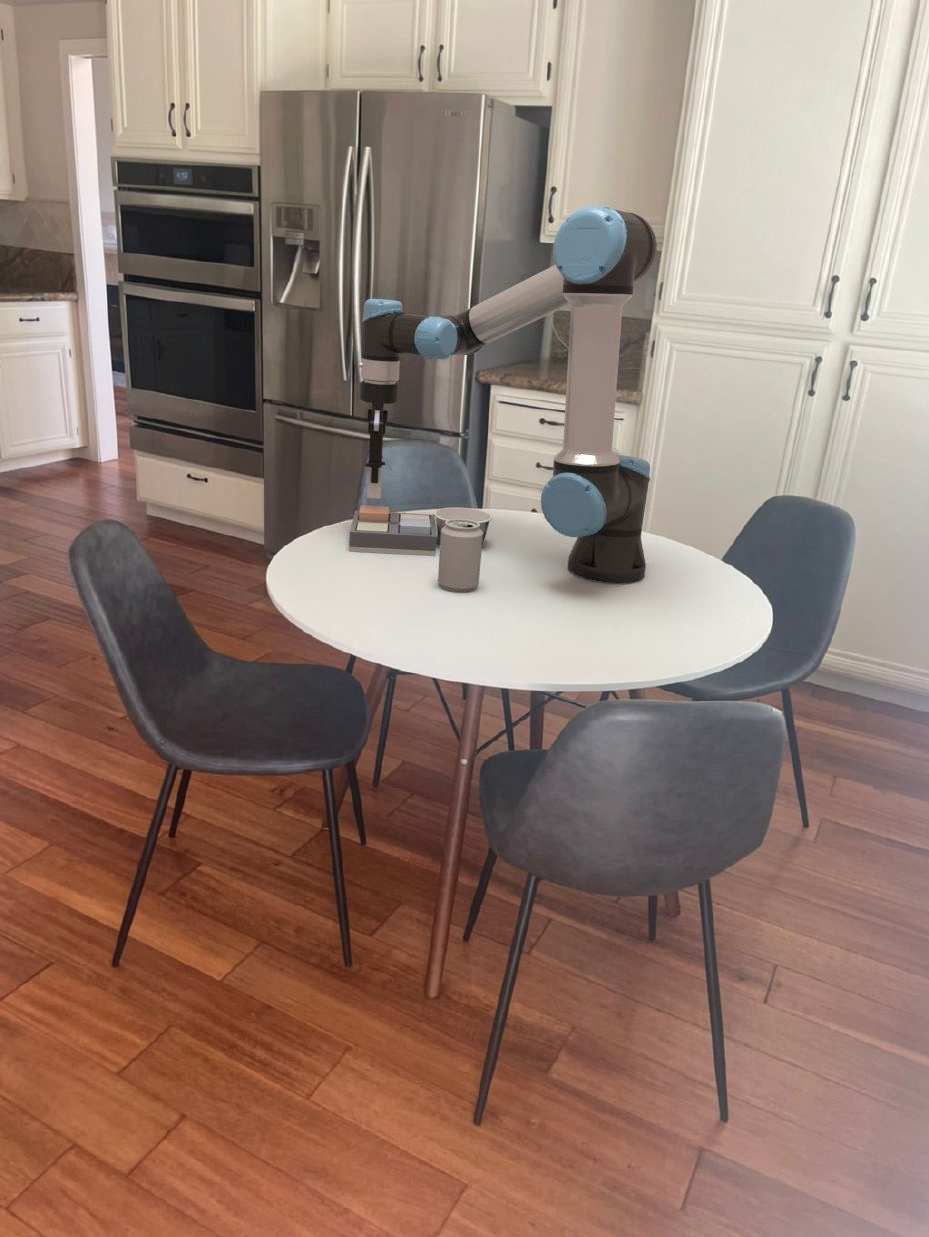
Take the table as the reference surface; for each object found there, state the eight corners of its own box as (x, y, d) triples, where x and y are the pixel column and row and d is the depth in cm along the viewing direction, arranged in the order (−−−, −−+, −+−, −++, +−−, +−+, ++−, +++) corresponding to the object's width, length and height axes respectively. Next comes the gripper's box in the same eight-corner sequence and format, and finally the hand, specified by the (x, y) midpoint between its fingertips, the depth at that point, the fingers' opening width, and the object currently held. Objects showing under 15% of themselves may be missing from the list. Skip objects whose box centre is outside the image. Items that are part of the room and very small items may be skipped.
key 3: (429, 531, 193) (429, 519, 192) (429, 539, 187) (430, 527, 186) (399, 529, 192) (400, 517, 191) (399, 537, 187) (400, 525, 186)
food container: (422, 546, 193) (424, 515, 190) (446, 533, 203) (448, 504, 201) (476, 557, 189) (478, 525, 186) (498, 543, 199) (500, 513, 197)
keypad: (433, 532, 203) (434, 514, 201) (435, 556, 187) (436, 536, 186) (354, 528, 202) (354, 510, 200) (349, 551, 186) (349, 531, 184)
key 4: (428, 526, 201) (429, 515, 200) (428, 534, 195) (429, 522, 194) (400, 525, 201) (400, 513, 200) (399, 532, 195) (400, 521, 194)
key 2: (388, 518, 200) (389, 506, 199) (387, 525, 194) (388, 514, 193) (360, 516, 199) (360, 505, 199) (358, 524, 194) (359, 512, 193)
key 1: (387, 535, 192) (387, 523, 192) (386, 543, 187) (387, 531, 186) (357, 533, 192) (358, 522, 191) (356, 542, 186) (356, 529, 186)
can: (474, 595, 166) (479, 530, 162) (433, 590, 168) (437, 524, 163) (482, 582, 173) (487, 519, 169) (442, 577, 175) (446, 514, 170)
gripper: (362, 375, 193) (357, 488, 201) (358, 384, 180) (353, 503, 189) (398, 378, 193) (392, 491, 202) (397, 387, 181) (391, 506, 189)
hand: (373, 497), depth 195 cm, fingers closed
